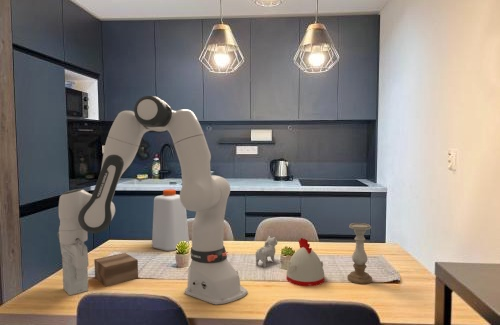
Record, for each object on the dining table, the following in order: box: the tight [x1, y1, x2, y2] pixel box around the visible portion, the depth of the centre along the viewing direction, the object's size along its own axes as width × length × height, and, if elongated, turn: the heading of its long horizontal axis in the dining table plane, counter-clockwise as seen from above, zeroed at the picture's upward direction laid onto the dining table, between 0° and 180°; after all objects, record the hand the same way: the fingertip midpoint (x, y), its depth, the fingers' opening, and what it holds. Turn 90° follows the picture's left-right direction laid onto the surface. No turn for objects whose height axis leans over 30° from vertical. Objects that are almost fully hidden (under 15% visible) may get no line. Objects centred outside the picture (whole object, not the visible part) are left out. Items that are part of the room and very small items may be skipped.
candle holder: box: [347, 222, 373, 285], centre depth 134 cm, size 9×9×20 cm
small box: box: [61, 252, 89, 296], centre depth 128 cm, size 8×6×13 cm
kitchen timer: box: [286, 237, 325, 287], centre depth 136 cm, size 14×14×15 cm
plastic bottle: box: [151, 188, 190, 252], centre depth 180 cm, size 15×15×28 cm
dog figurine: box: [255, 235, 278, 268], centre depth 155 cm, size 5×13×11 cm, turn 144°
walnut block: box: [93, 252, 139, 287], centre depth 139 cm, size 12×12×7 cm
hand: (75, 275), depth 128 cm, fingers closed on small box, 8 cm apart
